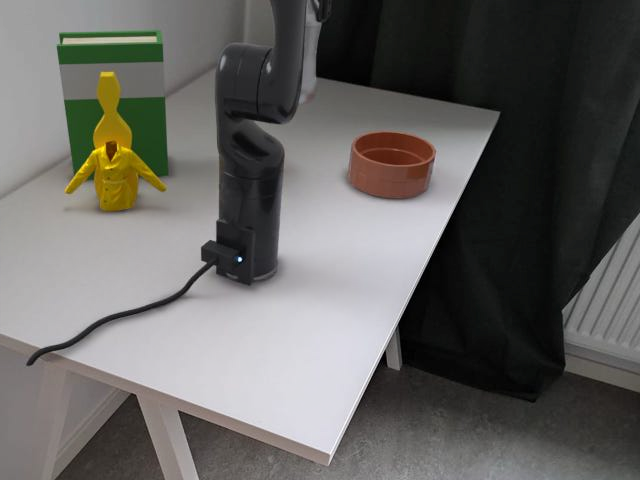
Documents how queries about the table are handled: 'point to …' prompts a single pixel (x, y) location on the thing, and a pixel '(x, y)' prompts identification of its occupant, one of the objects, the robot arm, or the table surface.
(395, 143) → the bowl
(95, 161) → the yellow jacket
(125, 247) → the table surface
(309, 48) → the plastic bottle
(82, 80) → the hardback book
